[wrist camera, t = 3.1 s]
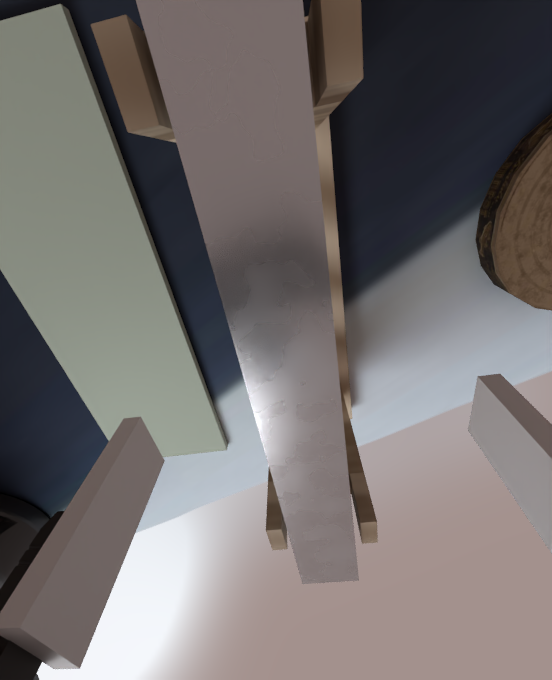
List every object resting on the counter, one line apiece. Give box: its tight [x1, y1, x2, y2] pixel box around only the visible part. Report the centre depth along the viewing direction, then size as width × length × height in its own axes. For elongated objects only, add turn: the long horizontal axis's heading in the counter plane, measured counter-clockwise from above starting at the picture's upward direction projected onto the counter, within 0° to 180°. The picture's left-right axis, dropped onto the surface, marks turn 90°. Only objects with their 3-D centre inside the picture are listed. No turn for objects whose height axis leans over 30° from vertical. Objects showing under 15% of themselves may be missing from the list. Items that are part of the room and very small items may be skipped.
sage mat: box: [0, 4, 228, 457], centre depth 30 cm, size 40×14×1 cm, turn 10°
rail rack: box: [91, 0, 377, 550], centre depth 21 cm, size 33×9×16 cm, turn 10°
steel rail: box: [136, 0, 359, 584], centre depth 15 cm, size 34×4×4 cm, turn 10°
